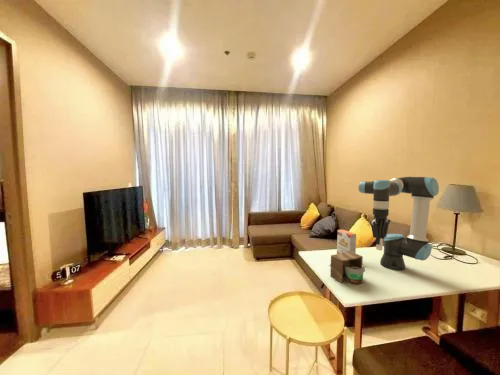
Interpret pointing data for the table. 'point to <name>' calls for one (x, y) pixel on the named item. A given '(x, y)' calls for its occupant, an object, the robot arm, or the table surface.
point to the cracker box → (346, 241)
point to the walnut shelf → (344, 263)
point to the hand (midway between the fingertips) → (379, 249)
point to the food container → (354, 274)
